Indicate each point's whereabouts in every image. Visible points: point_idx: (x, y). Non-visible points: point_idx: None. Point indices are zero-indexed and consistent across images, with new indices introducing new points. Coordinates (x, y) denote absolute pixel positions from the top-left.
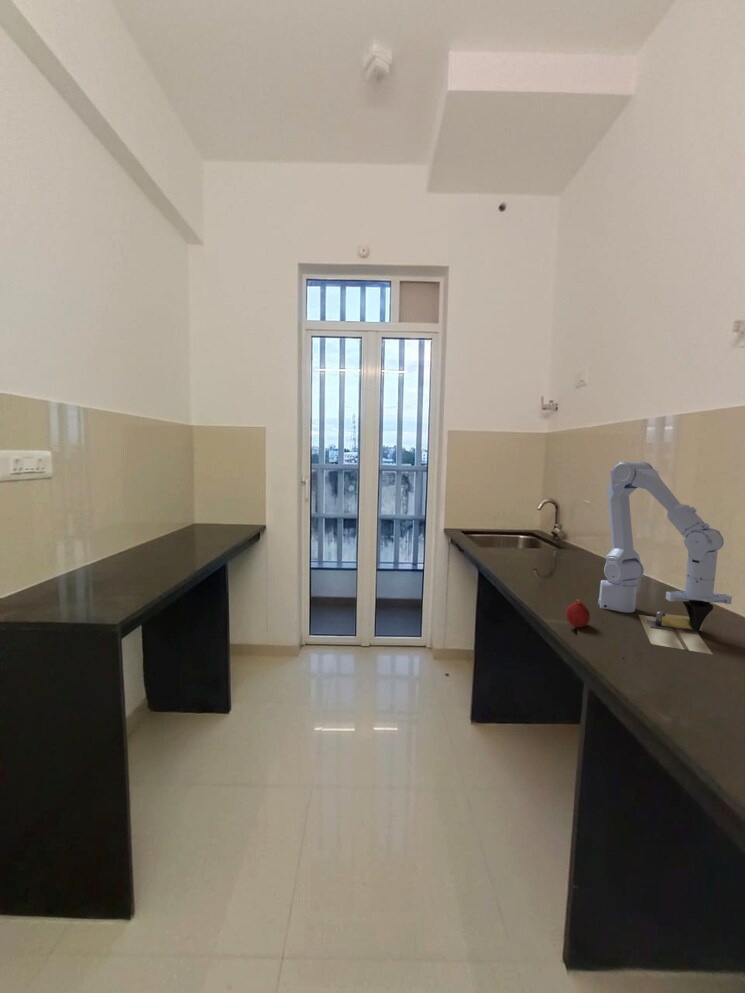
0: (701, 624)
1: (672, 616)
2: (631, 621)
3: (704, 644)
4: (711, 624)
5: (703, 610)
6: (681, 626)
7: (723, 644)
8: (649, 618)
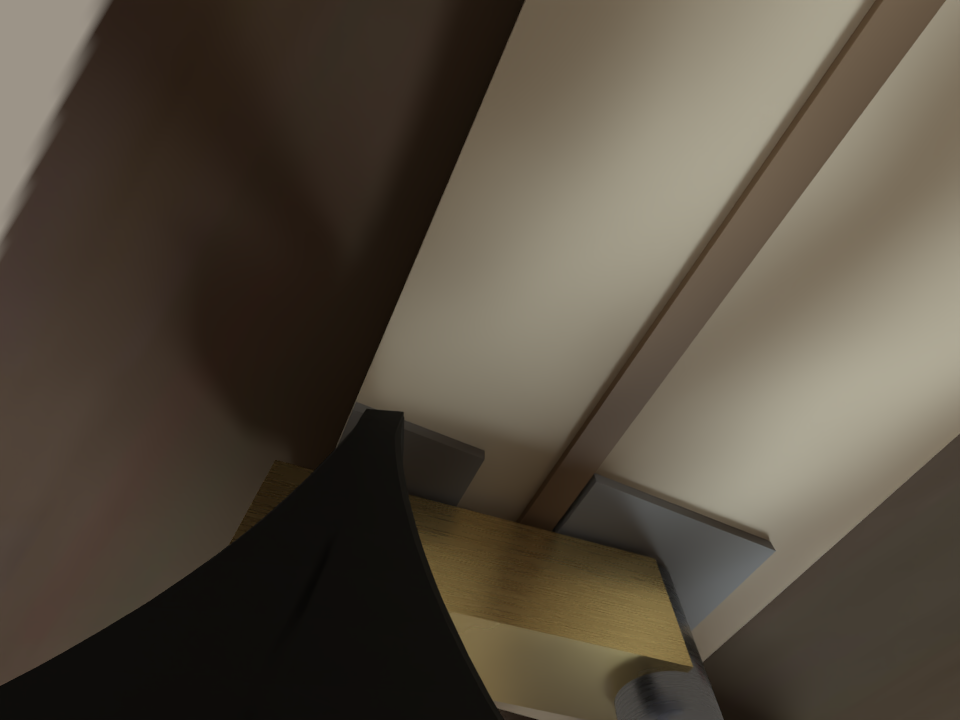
0: (328, 457)
1: (554, 665)
2: (706, 668)
3: (505, 97)
4: (47, 636)
5: (257, 698)
6: (477, 529)
7: (151, 253)
8: None
